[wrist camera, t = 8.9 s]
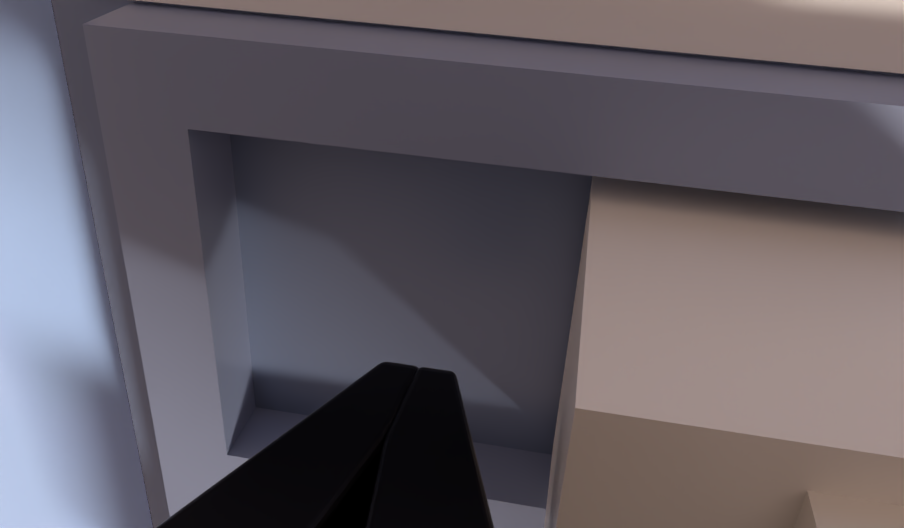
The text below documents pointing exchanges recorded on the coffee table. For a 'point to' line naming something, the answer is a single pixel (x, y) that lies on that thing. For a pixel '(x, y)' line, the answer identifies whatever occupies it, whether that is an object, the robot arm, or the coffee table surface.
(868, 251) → the tab
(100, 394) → the coffee table surface
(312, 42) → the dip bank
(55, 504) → the coffee table surface
